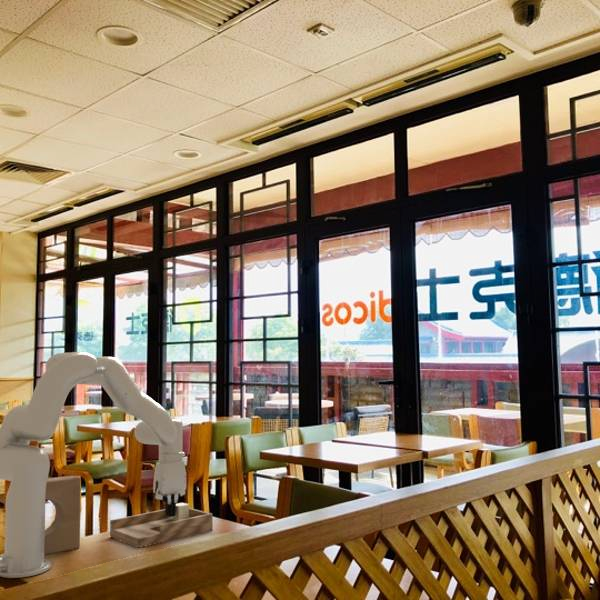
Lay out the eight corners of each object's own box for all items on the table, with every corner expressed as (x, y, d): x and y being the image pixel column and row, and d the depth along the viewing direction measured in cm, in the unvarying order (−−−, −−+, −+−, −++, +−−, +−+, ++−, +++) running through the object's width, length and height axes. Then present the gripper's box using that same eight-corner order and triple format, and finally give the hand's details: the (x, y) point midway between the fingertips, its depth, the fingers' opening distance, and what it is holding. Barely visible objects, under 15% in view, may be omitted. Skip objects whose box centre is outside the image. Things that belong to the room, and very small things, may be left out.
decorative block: (40, 556, 180) (41, 482, 181) (34, 551, 184) (35, 479, 186) (80, 548, 186) (81, 477, 188) (73, 544, 191) (74, 474, 193)
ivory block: (178, 519, 209) (178, 506, 209) (171, 517, 211) (171, 504, 212) (189, 516, 211) (189, 504, 212) (182, 515, 214) (182, 502, 215)
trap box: (139, 547, 186) (139, 530, 186) (110, 537, 198) (110, 520, 198) (212, 530, 204) (212, 513, 205) (181, 521, 216) (181, 505, 217)
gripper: (183, 454, 218) (183, 510, 216) (144, 459, 207) (143, 518, 206) (196, 456, 213) (196, 513, 211) (157, 461, 202) (156, 522, 200)
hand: (170, 515), depth 208 cm, fingers closed
